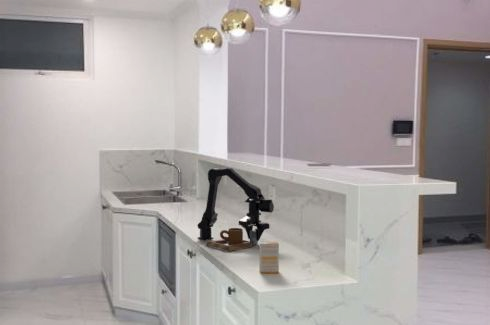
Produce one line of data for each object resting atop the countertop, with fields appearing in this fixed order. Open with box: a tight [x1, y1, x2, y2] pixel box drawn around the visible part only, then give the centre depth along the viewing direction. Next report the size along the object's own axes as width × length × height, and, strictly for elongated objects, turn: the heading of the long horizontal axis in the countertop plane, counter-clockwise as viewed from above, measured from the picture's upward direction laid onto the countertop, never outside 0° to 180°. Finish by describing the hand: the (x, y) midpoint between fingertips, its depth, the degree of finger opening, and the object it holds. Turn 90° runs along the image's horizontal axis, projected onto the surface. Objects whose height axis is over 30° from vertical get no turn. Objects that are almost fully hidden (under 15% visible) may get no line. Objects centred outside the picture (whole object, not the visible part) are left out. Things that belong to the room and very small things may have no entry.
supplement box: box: [258, 240, 280, 274], centre depth 243 cm, size 8×5×13 cm, turn 92°
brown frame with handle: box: [205, 229, 259, 252], centre depth 295 cm, size 18×24×7 cm
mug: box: [219, 227, 244, 246], centre depth 291 cm, size 12×8×9 cm, turn 103°
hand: (253, 240), depth 299 cm, fingers open, 6 cm apart
